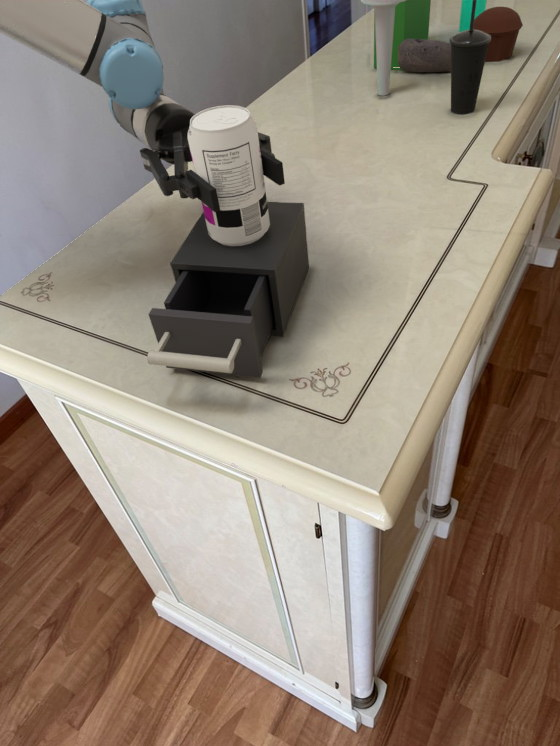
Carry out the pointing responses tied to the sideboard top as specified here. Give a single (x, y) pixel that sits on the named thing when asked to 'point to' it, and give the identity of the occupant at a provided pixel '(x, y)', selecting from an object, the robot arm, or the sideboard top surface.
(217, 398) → the sideboard top surface
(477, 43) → the drinking cup
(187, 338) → the open drawer with handle
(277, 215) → the drawer cabinet
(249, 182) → the supplement can
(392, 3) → the novelty light stick
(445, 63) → the perforated stone tool
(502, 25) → the muffin
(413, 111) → the sideboard top surface
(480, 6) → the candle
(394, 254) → the sideboard top surface
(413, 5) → the hardback book
